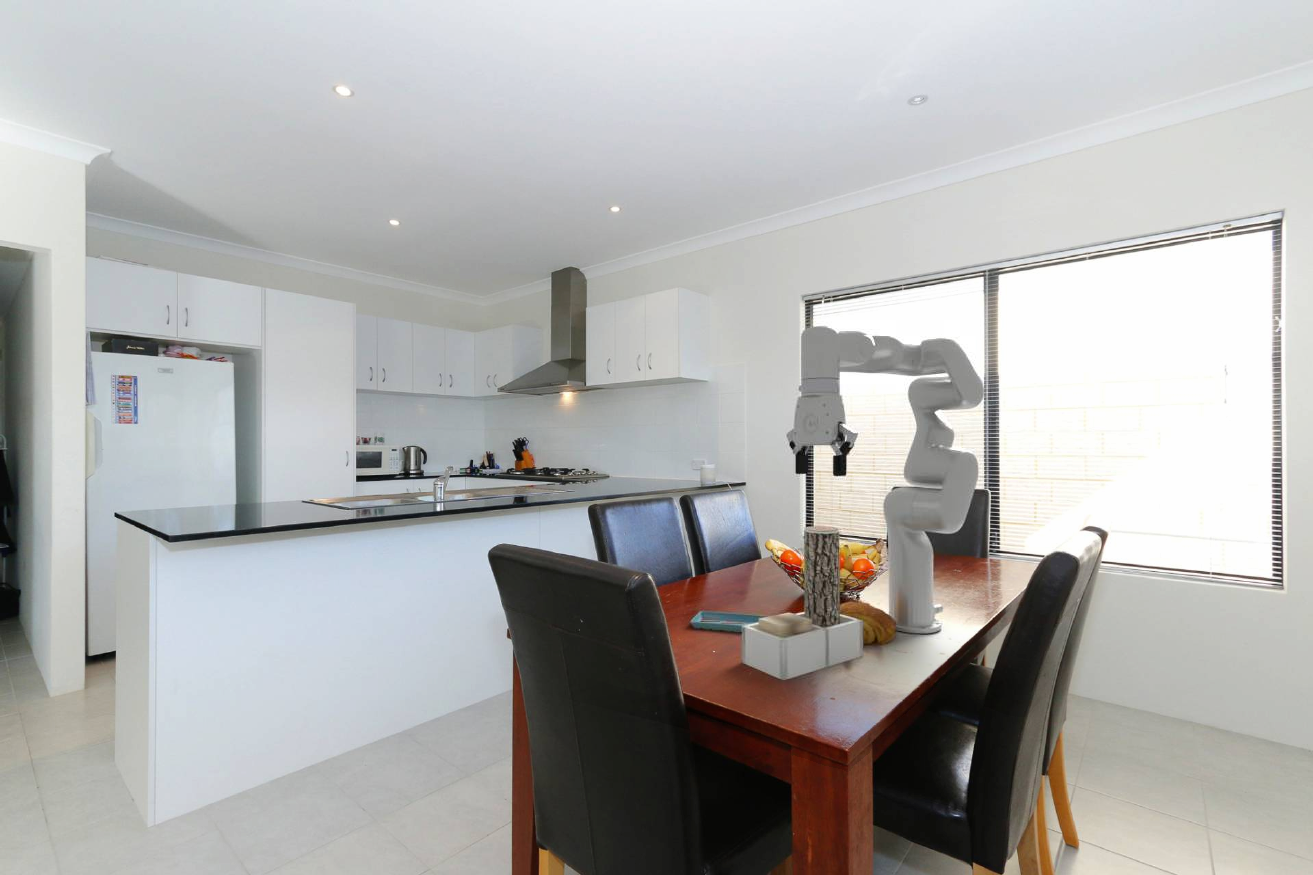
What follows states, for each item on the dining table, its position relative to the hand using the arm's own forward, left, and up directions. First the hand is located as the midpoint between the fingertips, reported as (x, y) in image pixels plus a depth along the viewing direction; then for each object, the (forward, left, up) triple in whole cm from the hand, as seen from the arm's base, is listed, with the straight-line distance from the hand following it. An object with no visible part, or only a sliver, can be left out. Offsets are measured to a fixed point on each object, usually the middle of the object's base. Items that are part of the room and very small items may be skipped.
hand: (820, 474), depth 125 cm
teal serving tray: (0, -21, -36) cm, 42 cm away
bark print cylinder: (0, 0, -36) cm, 36 cm away
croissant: (-16, -3, -36) cm, 40 cm away
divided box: (+6, 0, -36) cm, 36 cm away
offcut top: (+10, 0, -30) cm, 32 cm away
